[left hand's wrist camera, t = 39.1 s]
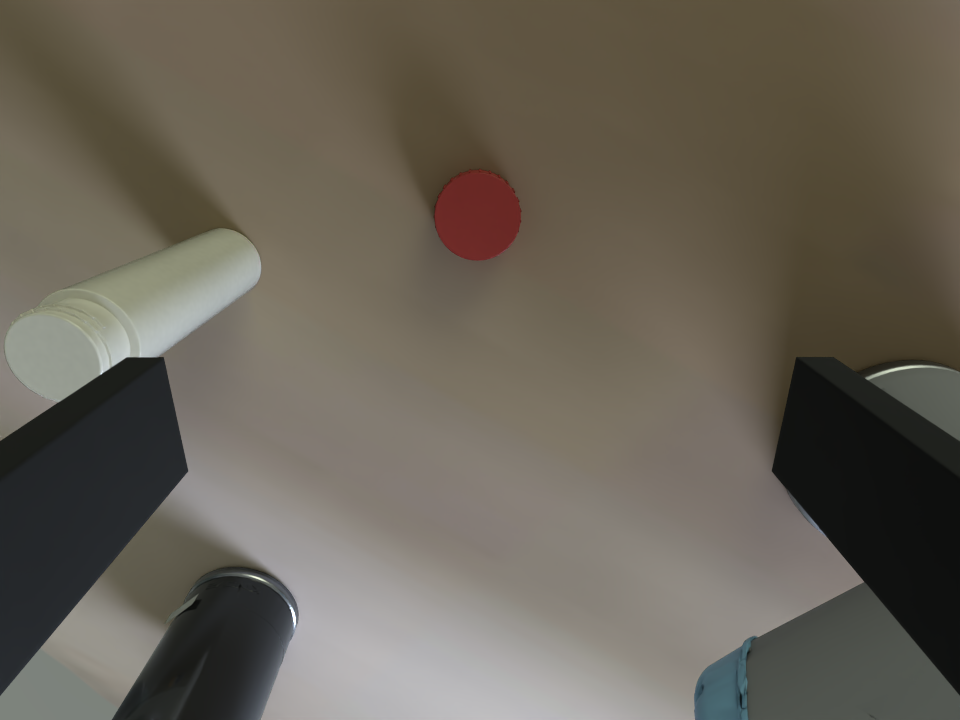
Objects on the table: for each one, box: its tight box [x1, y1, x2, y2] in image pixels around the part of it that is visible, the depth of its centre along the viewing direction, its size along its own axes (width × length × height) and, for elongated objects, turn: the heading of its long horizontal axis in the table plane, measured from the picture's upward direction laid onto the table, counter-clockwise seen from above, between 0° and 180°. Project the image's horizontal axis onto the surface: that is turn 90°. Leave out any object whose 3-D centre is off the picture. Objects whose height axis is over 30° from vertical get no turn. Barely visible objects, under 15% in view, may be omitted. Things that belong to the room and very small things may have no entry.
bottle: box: [4, 228, 261, 402], centre depth 32 cm, size 5×5×18 cm
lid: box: [434, 169, 521, 260], centre depth 37 cm, size 5×6×2 cm
